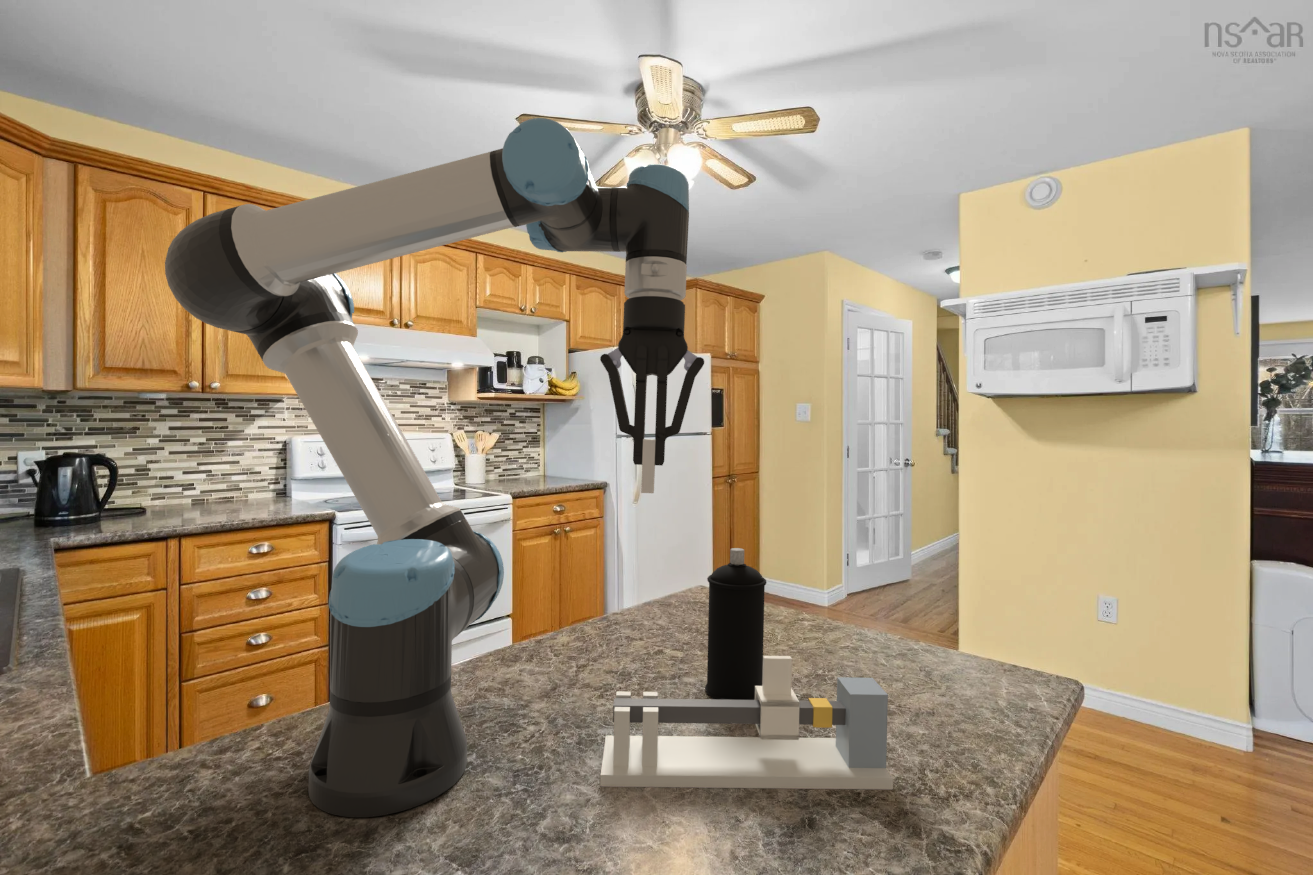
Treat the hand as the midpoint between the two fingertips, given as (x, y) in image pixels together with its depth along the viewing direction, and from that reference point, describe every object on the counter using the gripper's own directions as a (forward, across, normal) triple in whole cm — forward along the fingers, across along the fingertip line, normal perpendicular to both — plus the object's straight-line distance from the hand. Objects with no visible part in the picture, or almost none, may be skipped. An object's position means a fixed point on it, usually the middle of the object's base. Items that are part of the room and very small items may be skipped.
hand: (647, 491), depth 75 cm
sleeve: (+25, +15, -9) cm, 30 cm away
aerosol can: (+29, +13, +10) cm, 33 cm away
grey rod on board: (+29, +12, -9) cm, 32 cm away
